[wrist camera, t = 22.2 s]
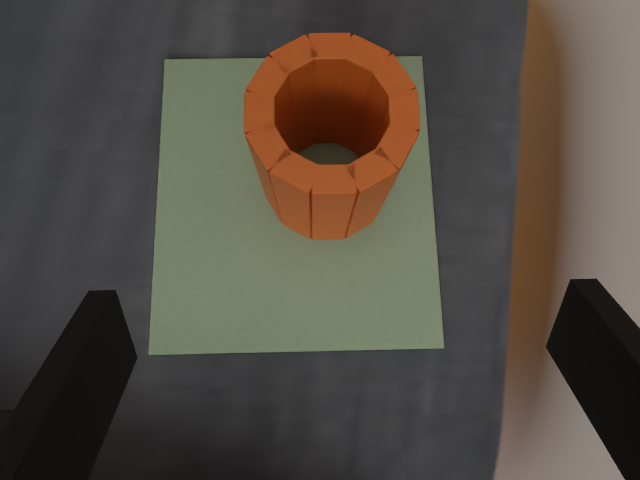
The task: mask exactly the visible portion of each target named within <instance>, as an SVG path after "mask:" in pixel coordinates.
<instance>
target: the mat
mask: <svg viewBox="0 0 640 480" xmlns="http://www.w3.org/2000/svg"><path fill="white" fill-rule="evenodd" d="M395 57H396V58H397V60H398V61H399V62H400V64H401V65H402V67H403V68H404V69H405V71H406V72H407V74H408V75H409V76H410V78H411V79H412V81H413V82H414V83H415V85H416V88H415V89H417V90H418V100H419V114H420V127H421V128H420V131H419V135H418V137H417V139H416V141H415V143H414V145H413V147H412V149H411V151H410V153H409V155H408V157H407V159H406V161H405V163H404V165H403V167H402V169H401V171H400V172H399V174H398V176H397V178H396V180H395V182H394V184H393V186H392V188H391V190H390V192H389V194H388V196H387V198H386V200H385V201H384V203H383V205H382V207H381V209H380V211H379V213H378V214H377V216H376V218H375V220H374V221H373V222H372V223H371V224H370V225H368V226H366V227H365V228H363V229H361V230H360V231H358V232H356V233H355V234H353V235H351V236H350V237H348V238H345V237H344V239H334V240H313V239H312V237H311V239H309V238H307V237H305V236H303V235H301V234H299V233H297V232H296V231H294V230H292V229H290V228H288V227H286V226H284V225H283V223H281V222H280V220H279V218H278V217H277V215H276V213H275V212H274V210H273V208H272V207H271V205H270V203H269V202H268V200H267V198H266V196H265V193H264V190H263V187H262V184H261V181H260V178H259V175H258V172H257V169H256V166H255V163H254V161H253V158H252V155H251V152H250V149H249V146H248V143H247V140H246V137H245V133H244V93H245V92H246V87H247V86H248V84H249V83H250V81H251V80H252V78H253V76H254V75H255V73H256V72H257V70H258V69H259V67H260V66H261V64H262V62H263V61H264V59H265V58H232V59H165V64H164V82H163V100H162V118H161V136H160V154H159V172H158V190H157V208H156V226H155V244H154V262H153V280H152V298H151V316H150V334H149V352H148V354H149V355H171V354H215V353H258V352H302V351H346V350H390V349H434V348H444V337H443V324H442V311H441V298H440V285H439V272H438V259H437V246H436V233H435V220H434V207H433V194H432V181H431V168H430V155H429V142H428V129H427V116H426V103H425V90H424V77H423V64H422V56H395ZM297 154H299V155H301V156H302V157H304V158H306V159H308V160H310V161H312V162H314V163H316V164H318V165H327V164H350V163H352V162H353V161H355V160H357V159H358V157H357V156H356V154H355V153H354V152H353V151H351V150H349V149H347V148H345V147H343V146H341V145H339V144H337V143H315V144H313V145H311V146H310V147H308V148H306V149H304V150H302V151H301V152H299V153H297Z"/></svg>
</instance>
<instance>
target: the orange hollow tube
mask: <svg viewBox="0 0 640 480" xmlns="http://www.w3.org/2000/svg"><path fill="white" fill-rule="evenodd" d="M389 55H390V52H389V51H388V50H386V49H384V48H382V47H380V46H378V45H376V44H373V43H371V42H369V41H367V40H365V39H363V38H361V37H359V36H357V35H355V34H354V35H353V36H352V37H351V34H350V33H309V38H308V37H307V36H306V35H303V36H301V37H299V38H297V39H295V40H293V41H291V42H290V43H288V44H286V45H284V46H282V47H280V48H278V49H276V50H274V51H272V52H271V53H270V57H269V56H266V58H265V59H264V61H263V62H262V64H261V66H260V67H259V69H258V70H257V72H256V73H255V75H254V76H253V78H252V80H251V81H250V83H249V84H248V86H247V87H246V92H245V93H244V133H245V137H246V140H247V143H248V146H249V149H250V152H251V155H252V158H253V161H254V163H255V166H256V169H257V172H258V175H259V178H260V181H261V184H262V187H263V190H264V193H265V196H266V198H267V200H268V202H269V203H270V205H271V207H272V208H273V210H274V212H275V213H276V215H277V217H278V218H279V220H280V222H281V223H283V225H284V226H286V227H288V228H290V229H292V230H294V231H296V232H297V233H299V234H301V235H303V236H305V237H307V238H309V239H311V237H312V239H313V240H334V239H344V237H345V238H348V237H350V236H351V235H353V234H355V233H356V232H358V231H360V230H361V229H363V228H365V227H366V226H368V225H370V224H371V223H372V222H373V221H374V220H375V218H376V216H377V214H378V213H379V211H380V209H381V207H382V205H383V203H384V201H385V200H386V198H387V196H388V194H389V192H390V190H391V188H392V186H393V184H394V182H395V180H396V178H397V176H398V174H399V172H400V171H401V169H402V167H403V165H404V163H405V161H406V159H407V157H408V155H409V153H410V151H411V149H412V147H413V145H414V143H415V141H416V139H417V137H418V135H419V131H420V128H421V127H420V114H419V100H418V90H417V89H415V88H416V85H415V83H414V82H413V81H412V79H411V78H410V76H409V75H408V74H407V72H406V71H405V69H404V68H403V67H402V65H401V64H400V62H399V61H398V60H397V58H396V57H395V55H394V54H392V55H390V56H389ZM315 143H337V144H339V145H341V146H343V147H345V148H347V149H349V150H351V151H353V152H354V153H355V154H356V156H357V157H358V159H357V160H355V161H353V162H352V163H350V164H327V165H318V164H316V163H314V162H312V161H310V160H308V159H306V158H304V157H302V156H301V155H299V154H297V153H299V152H301V151H302V150H304V149H306V148H308V147H310V146H311V145H313V144H315Z"/></svg>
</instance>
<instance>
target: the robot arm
mask: <svg viewBox="0 0 640 480" xmlns="http://www.w3.org/2000/svg"><path fill="white" fill-rule="evenodd" d="M546 348H547V350H548V351H549V353H550V355H551V356H552V358H553V360H554V361H555V363H556V365H557V367H558V368H559V370H560V372H561V373H562V375H563V377H564V378H565V380H566V382H567V383H568V385H569V387H570V388H571V390H572V392H573V393H574V395H575V396H576V398H577V400H578V402H579V403H580V405H581V407H582V408H583V410H584V412H585V413H586V415H587V417H588V418H589V420H590V422H591V423H592V425H593V427H594V428H595V430H596V432H597V433H598V435H599V437H600V438H601V440H602V442H603V443H604V445H605V447H606V448H607V450H608V452H609V454H610V455H611V457H612V459H613V460H614V462H615V464H616V465H617V467H618V469H619V470H620V472H621V474H622V475H623V477H624V479H625V480H640V328H639V327H638V326H637V325H636V324H635V322H634V321H633V320H632V319H631V318H630V317H629V316H628V314H627V313H626V312H625V311H624V310H623V309H622V307H621V306H620V305H619V304H618V303H617V302H616V301H615V299H614V298H613V297H612V296H611V295H610V294H609V293H608V291H607V290H606V289H605V288H604V287H603V286H602V285H601V283H600V282H599V281H598V280H597V279H570V282H569V285H568V287H567V290H566V293H565V296H564V298H563V301H562V304H561V307H560V309H559V312H558V315H557V317H556V320H555V323H554V326H553V328H552V331H551V334H550V337H549V339H548V342H547V345H546ZM136 360H137V355H136V352H135V348H134V345H133V342H132V339H131V336H130V333H129V330H128V327H127V324H126V321H125V318H124V314H123V311H122V308H121V305H120V302H119V299H118V296H117V293H116V290H100V291H88V293H87V294H86V296H85V297H84V299H83V301H82V302H81V304H80V305H79V307H78V308H77V310H76V312H75V313H74V315H73V316H72V318H71V320H70V321H69V323H68V324H67V326H66V328H65V329H64V331H63V332H62V334H61V336H60V337H59V339H58V340H57V342H56V344H55V345H54V347H53V348H52V350H51V352H50V353H49V355H48V356H47V358H46V360H45V361H44V363H43V364H42V366H41V368H40V369H39V371H38V372H37V374H36V376H35V377H34V379H33V380H32V382H31V383H30V385H29V387H28V388H27V390H26V391H25V393H24V395H23V396H22V398H21V399H20V401H19V403H18V404H17V406H16V407H15V409H14V410H0V480H88V478H89V475H90V473H91V471H92V468H93V466H94V463H95V461H96V458H97V456H98V453H99V451H100V448H101V446H102V444H103V441H104V439H105V436H106V434H107V431H108V429H109V426H110V424H111V421H112V419H113V416H114V414H115V412H116V409H117V407H118V404H119V402H120V399H121V397H122V394H123V392H124V389H125V387H126V385H127V382H128V380H129V377H130V375H131V372H132V370H133V367H134V365H135V362H136Z"/></svg>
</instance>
